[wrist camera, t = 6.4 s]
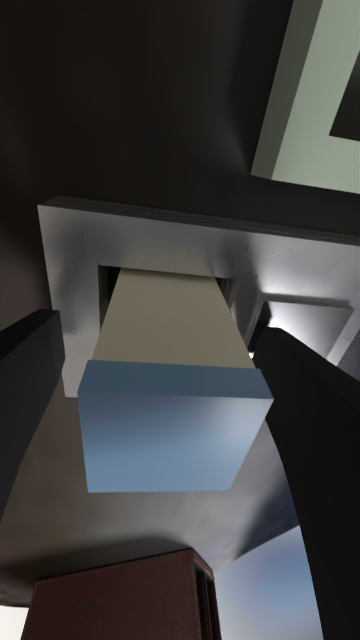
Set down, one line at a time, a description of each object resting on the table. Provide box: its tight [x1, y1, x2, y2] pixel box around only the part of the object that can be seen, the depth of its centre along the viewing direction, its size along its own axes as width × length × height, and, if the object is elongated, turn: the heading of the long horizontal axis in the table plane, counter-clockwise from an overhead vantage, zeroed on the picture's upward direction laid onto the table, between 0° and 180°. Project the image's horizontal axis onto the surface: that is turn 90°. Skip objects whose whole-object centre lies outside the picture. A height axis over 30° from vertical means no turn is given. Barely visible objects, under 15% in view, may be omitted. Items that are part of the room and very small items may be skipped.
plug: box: [77, 267, 274, 492], centre depth 8 cm, size 4×4×7 cm
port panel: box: [37, 195, 360, 397], centre depth 11 cm, size 12×8×2 cm, turn 82°
